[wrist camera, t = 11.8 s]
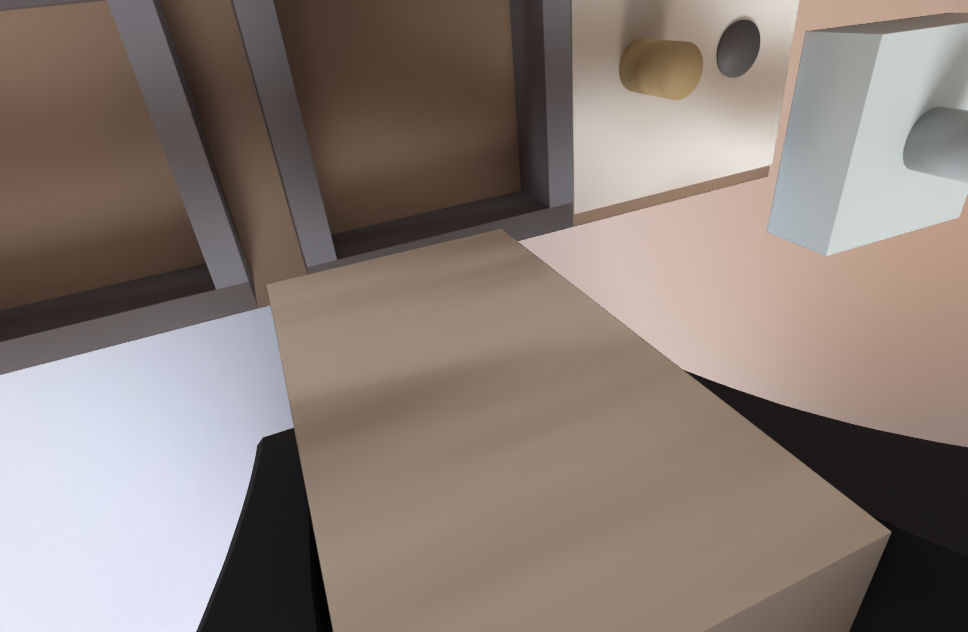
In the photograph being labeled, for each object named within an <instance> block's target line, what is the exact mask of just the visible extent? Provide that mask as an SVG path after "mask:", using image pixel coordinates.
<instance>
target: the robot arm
mask: <svg viewBox="0 0 968 632" xmlns="http://www.w3.org/2000/svg"><path fill="white" fill-rule="evenodd" d="M684 371H685V370H684ZM685 372H686V373H688V374H689V375H690V376H692V377H693V378H694V379H695V380H697V381H698V382H699V383H701V384H702V385H703V386H704V387H706V388H707V389H708V390H710V391H711V392H712V393H713V394H715V395H716V396H717V397H719V398H720V399H721V400H722V401H724V402H725V403H726V404H728V405H729V406H730V407H731V408H733V409H734V410H735V411H737V412H738V413H739V414H740V415H742V416H743V417H744V418H746V419H747V420H748V421H749V422H751V423H752V424H753V425H755V426H756V427H757V428H758V429H760V430H761V431H762V432H764V433H765V434H766V435H767V436H769V437H770V438H771V439H773V440H774V441H775V442H777V443H778V444H779V445H780V446H782V447H783V448H784V449H786V450H787V451H788V452H789V453H791V454H792V455H793V456H795V457H796V458H797V459H798V460H800V461H801V462H802V463H804V464H805V465H806V466H807V467H809V468H810V469H811V470H813V471H814V472H815V473H816V474H818V475H819V476H820V477H822V478H823V479H824V480H825V481H827V482H828V483H829V484H831V485H832V486H833V487H834V488H836V489H837V490H838V491H840V492H841V493H842V494H843V495H845V496H846V497H847V498H849V499H850V500H851V501H852V502H854V503H855V504H856V505H858V506H859V507H860V508H861V509H863V510H864V511H865V512H867V513H868V514H869V515H870V516H872V517H873V518H874V519H876V520H877V521H878V522H880V523H881V524H882V525H883V526H885V527H886V528H887V529H889V530H890V531H891V535H890V537H889V539H888V542H887V544H886V546H885V549H884V551H883V553H882V556H881V558H880V560H879V563H878V565H877V567H876V570H875V572H874V575H873V577H872V579H871V582H870V584H869V586H868V589H867V591H866V593H865V596H864V598H863V600H862V603H861V605H860V607H859V610H858V612H857V614H856V617H855V619H854V621H853V624H852V626H851V629H850V631H849V632H968V448H967V447H961V446H956V445H950V444H944V443H939V442H934V441H929V440H923V439H919V438H913V437H909V436H904V435H899V434H894V433H890V432H884V431H880V430H875V429H871V428H867V427H863V426H858V425H854V424H850V423H846V422H842V421H839V420H835V419H831V418H827V417H823V416H819V415H816V414H812V413H809V412H805V411H801V410H798V409H794V408H791V407H787V406H784V405H781V404H778V403H775V402H772V401H769V400H766V399H763V398H760V397H757V396H754V395H751V394H747V393H745V392H742V391H739V390H736V389H733V388H730V387H727V386H725V385H722V384H719V383H716V382H714V381H711V380H708V379H706V378H703V377H700V376H697V375H695V374H692V373H690V372H687V371H685ZM196 632H333V628H332V622H331V617H330V612H329V607H328V602H327V596H326V591H325V586H324V581H323V575H322V570H321V565H320V560H319V555H318V549H317V544H316V539H315V534H314V529H313V523H312V518H311V513H310V508H309V503H308V497H307V492H306V487H305V482H304V477H303V471H302V466H301V461H300V456H299V450H298V445H297V440H296V435H295V430H294V428H292V429H289V430H286V431H282V432H279V433H276V434H273V435H270V436H267V437H263V438H262V440H261V441H260V443H259V444H258V446H257V451H256V457H255V462H254V466H253V471H252V475H251V479H250V483H249V487H248V490H247V494H246V497H245V501H244V504H243V508H242V511H241V514H240V517H239V520H238V523H237V526H236V529H235V532H234V535H233V538H232V541H231V544H230V547H229V550H228V553H227V556H226V559H225V561H224V564H223V567H222V569H221V572H220V574H219V577H218V579H217V582H216V584H215V587H214V589H213V592H212V594H211V597H210V599H209V602H208V604H207V607H206V609H205V612H204V614H203V617H202V619H201V622H200V624H199V627H198V629H197V631H196Z"/></svg>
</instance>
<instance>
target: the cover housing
mask: <svg viewBox="0 0 968 632" xmlns="http://www.w3.org/2000/svg"><path fill="white" fill-rule="evenodd" d="M967 194H968V13H944V14H937V15H929V16H921V17H913V18H906V19H898V20H890V21H882V22H875V23H867V24H859V25H851V26H843V27H836V28H828V29H820V30H812V31H806V33H805V38H804V43H803V49H802V54H801V59H800V64H799V70H798V75H797V80H796V85H795V90H794V95H793V101H792V105H791V111H790V116H789V121H788V126H787V131H786V136H785V142H784V147H783V153H782V157H781V162H780V167H779V172H778V178H777V183H776V188H775V193H774V199H773V203H772V209H771V214H770V219H769V224H768V229H767V232H768V233H770V234H773V235H775V236H778V237H780V238H783V239H785V240H788V241H790V242H793V243H795V244H797V245H800V246H802V247H805V248H807V249H810V250H812V251H815V252H817V253H820V254H822V255H824V256H828V255H832V254H835V253H838V252H841V251H845V250H849V249H852V248H855V247H859V246H862V245H866V244H869V243H873V242H876V241H879V240H883V239H886V238H889V237H893V236H896V235H899V234H903V233H907V232H910V231H913V230H917V229H920V228H924V227H927V226H930V225H934V224H937V223H941V222H944V221H947V220H951V219H954V218H958V217H959V216H960V213H961V210H962V208H963V205H964V202H965V200H966V197H967Z"/></svg>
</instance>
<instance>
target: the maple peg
mask: <svg viewBox="0 0 968 632" xmlns="http://www.w3.org/2000/svg"><path fill="white" fill-rule="evenodd" d="M267 289H268V294H269V299H270V305H271V310H272V315H273V320H274V325H275V331H276V336H277V341H278V346H279V352H280V357H281V362H282V367H283V372H284V378H285V383H286V388H287V393H288V398H289V404H290V409H291V414H292V419H293V424H294V430H295V435H296V440H297V445H298V450H299V456H300V461H301V466H302V471H303V477H304V482H305V487H306V492H307V497H308V503H309V508H310V513H311V518H312V523H313V529H314V534H315V539H316V544H317V549H318V555H319V560H320V565H321V570H322V575H323V581H324V586H325V591H326V596H327V602H328V607H329V612H330V617H331V622H332V628H333V632H849V631H850V629H851V626H852V624H853V621H854V619H855V617H856V614H857V612H858V610H859V607H860V605H861V603H862V600H863V598H864V596H865V593H866V591H867V589H868V586H869V584H870V582H871V579H872V577H873V575H874V572H875V570H876V567H877V565H878V563H879V560H880V558H881V556H882V553H883V551H884V549H885V546H886V544H887V542H888V539H889V537H890V535H891V531H890V530H889V529H887V528H886V527H885V526H883V525H882V524H881V523H880V522H878V521H877V520H876V519H874V518H873V517H872V516H870V515H869V514H868V513H867V512H865V511H864V510H863V509H861V508H860V507H859V506H858V505H856V504H855V503H854V502H852V501H851V500H850V499H849V498H847V497H846V496H845V495H843V494H842V493H841V492H840V491H838V490H837V489H836V488H834V487H833V486H832V485H831V484H829V483H828V482H827V481H825V480H824V479H823V478H822V477H820V476H819V475H818V474H816V473H815V472H814V471H813V470H811V469H810V468H809V467H807V466H806V465H805V464H804V463H802V462H801V461H800V460H798V459H797V458H796V457H795V456H793V455H792V454H791V453H789V452H788V451H787V450H786V449H784V448H783V447H782V446H780V445H779V444H778V443H777V442H775V441H774V440H773V439H771V438H770V437H769V436H767V435H766V434H765V433H764V432H762V431H761V430H760V429H758V428H757V427H756V426H755V425H753V424H752V423H751V422H749V421H748V420H747V419H746V418H744V417H743V416H742V415H740V414H739V413H738V412H737V411H735V410H734V409H733V408H731V407H730V406H729V405H728V404H726V403H725V402H724V401H722V400H721V399H720V398H719V397H717V396H716V395H715V394H713V393H712V392H711V391H710V390H708V389H707V388H706V387H704V386H703V385H702V384H701V383H699V382H698V381H697V380H695V379H694V378H693V377H692V376H690V375H689V374H688V373H686V372H685V371H684V370H683V369H681V368H680V367H679V366H677V365H676V364H675V363H673V362H672V361H671V360H669V359H668V358H667V357H666V356H664V355H663V354H662V353H661V352H659V351H658V350H657V349H655V348H654V347H653V346H651V345H650V344H649V343H648V342H646V341H645V340H644V339H642V338H641V337H640V336H639V335H637V334H636V333H635V332H634V331H632V330H631V329H630V328H628V327H627V326H626V325H624V324H623V323H622V322H621V321H619V320H618V319H617V318H616V317H614V316H613V315H612V314H610V313H609V312H608V311H607V310H605V309H604V308H603V307H601V306H600V305H599V304H598V303H596V302H595V301H594V300H592V299H591V298H590V297H589V296H587V295H586V294H585V293H583V292H582V291H581V290H579V289H578V288H577V287H575V286H574V285H573V284H572V283H570V282H569V281H568V280H566V279H565V278H564V277H562V276H561V275H560V274H559V273H557V272H556V271H555V270H554V269H552V268H551V267H550V266H549V265H547V264H546V263H545V262H543V261H542V260H541V259H540V258H538V257H537V256H536V255H534V254H533V253H532V252H531V251H529V250H528V249H527V248H525V247H524V246H523V245H522V244H520V243H519V242H518V241H516V240H515V239H514V238H513V237H511V236H510V235H509V234H507V233H506V232H505V231H504V230H502V229H498V230H494V231H489V232H485V233H481V234H477V235H472V236H468V237H464V238H460V239H456V240H451V241H447V242H443V243H439V244H435V245H430V246H426V247H422V248H418V249H414V250H409V251H405V252H401V253H397V254H393V255H388V256H384V257H380V258H376V259H372V260H367V261H363V262H359V263H355V264H351V265H346V266H342V267H338V268H334V269H330V270H325V271H321V272H317V273H313V274H309V275H304V276H300V277H296V278H292V279H288V280H283V281H279V282H275V283H271V284H267Z"/></svg>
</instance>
